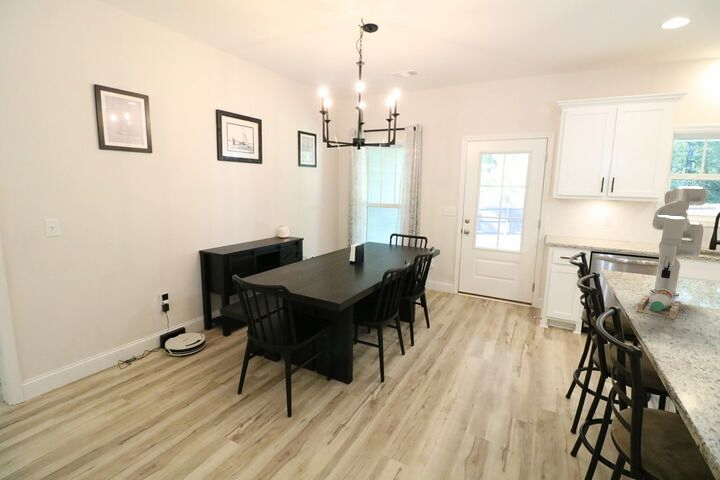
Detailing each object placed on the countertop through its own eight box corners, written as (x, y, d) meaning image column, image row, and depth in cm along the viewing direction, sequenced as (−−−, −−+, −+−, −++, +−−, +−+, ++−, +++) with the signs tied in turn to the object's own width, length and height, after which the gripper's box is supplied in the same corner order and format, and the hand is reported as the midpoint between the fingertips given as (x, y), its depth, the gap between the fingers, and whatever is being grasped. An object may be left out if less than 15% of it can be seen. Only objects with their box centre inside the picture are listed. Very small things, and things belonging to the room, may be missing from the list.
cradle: (643, 302, 184) (645, 294, 184) (679, 309, 174) (680, 301, 174) (636, 310, 171) (637, 303, 170) (674, 319, 161) (676, 310, 160)
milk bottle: (677, 300, 175) (671, 311, 162) (659, 304, 181) (652, 316, 168) (668, 286, 177) (662, 296, 164) (650, 291, 183) (643, 301, 169)
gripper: (663, 239, 180) (657, 274, 183) (659, 242, 170) (653, 278, 173) (682, 241, 175) (676, 276, 178) (679, 244, 165) (673, 282, 168)
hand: (665, 277), depth 176 cm, fingers closed
